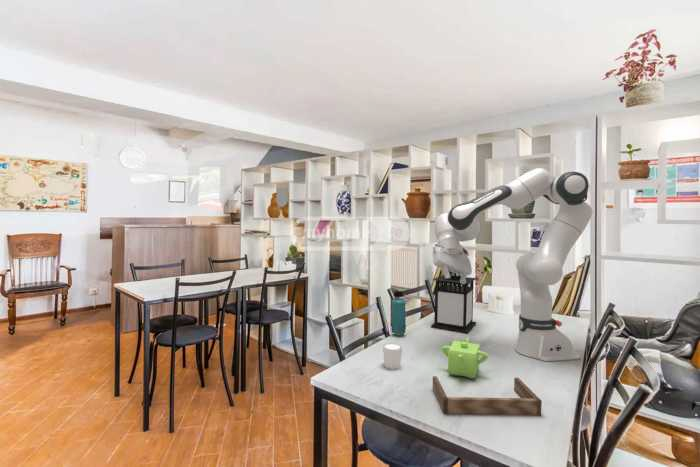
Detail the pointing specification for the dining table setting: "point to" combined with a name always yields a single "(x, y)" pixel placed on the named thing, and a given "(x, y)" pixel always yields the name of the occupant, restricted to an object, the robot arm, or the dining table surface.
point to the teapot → (464, 358)
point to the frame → (490, 402)
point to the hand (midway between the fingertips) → (455, 280)
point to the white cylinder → (392, 355)
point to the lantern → (454, 304)
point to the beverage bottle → (398, 314)
